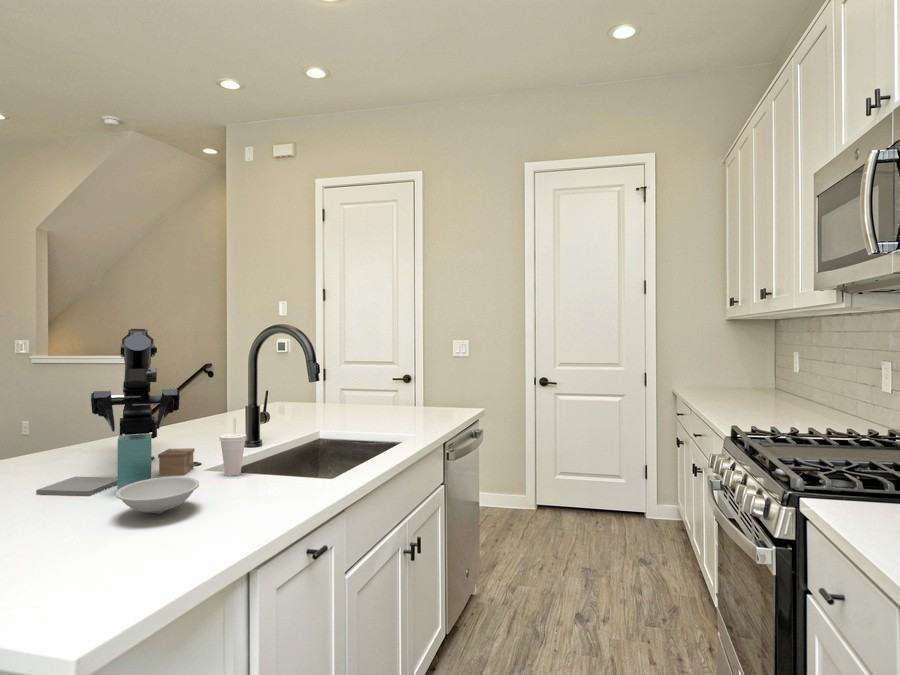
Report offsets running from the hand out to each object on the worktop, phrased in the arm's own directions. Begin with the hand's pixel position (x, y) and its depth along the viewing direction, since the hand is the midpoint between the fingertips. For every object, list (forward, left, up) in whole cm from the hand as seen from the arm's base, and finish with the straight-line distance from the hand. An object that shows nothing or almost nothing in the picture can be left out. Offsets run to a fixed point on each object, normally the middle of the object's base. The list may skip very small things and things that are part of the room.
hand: (136, 429), depth 138 cm
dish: (+21, +17, -13) cm, 30 cm away
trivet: (+5, -10, -13) cm, 17 cm away
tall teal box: (+6, +3, -13) cm, 14 cm away
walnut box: (-12, +3, -13) cm, 18 cm away
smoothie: (-11, +18, -13) cm, 25 cm away
